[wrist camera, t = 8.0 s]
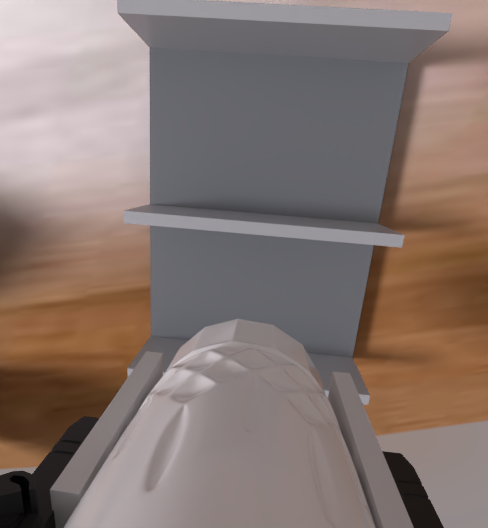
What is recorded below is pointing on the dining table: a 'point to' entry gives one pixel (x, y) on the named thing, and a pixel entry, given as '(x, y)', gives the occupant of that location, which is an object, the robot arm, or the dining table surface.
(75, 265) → the dining table surface
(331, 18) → the dish rack
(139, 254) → the dining table surface
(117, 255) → the dining table surface
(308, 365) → the white cup
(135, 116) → the dining table surface
